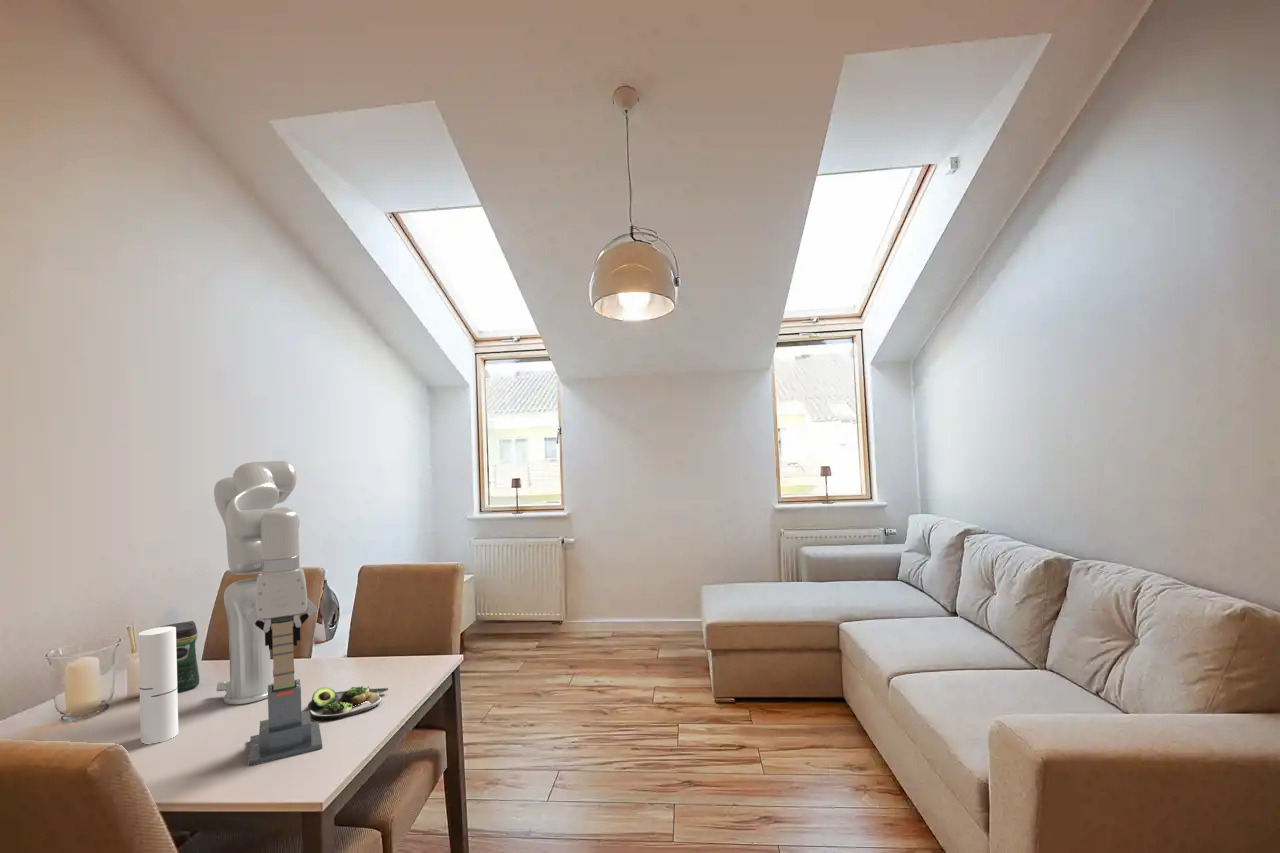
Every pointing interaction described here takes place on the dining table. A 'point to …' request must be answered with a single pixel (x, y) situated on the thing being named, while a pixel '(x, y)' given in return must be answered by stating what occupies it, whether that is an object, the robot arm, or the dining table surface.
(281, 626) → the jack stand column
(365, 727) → the dining table surface
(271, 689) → the stand
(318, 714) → the salad plate
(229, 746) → the dining table surface
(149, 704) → the cylindrical container
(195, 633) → the coffee jar
